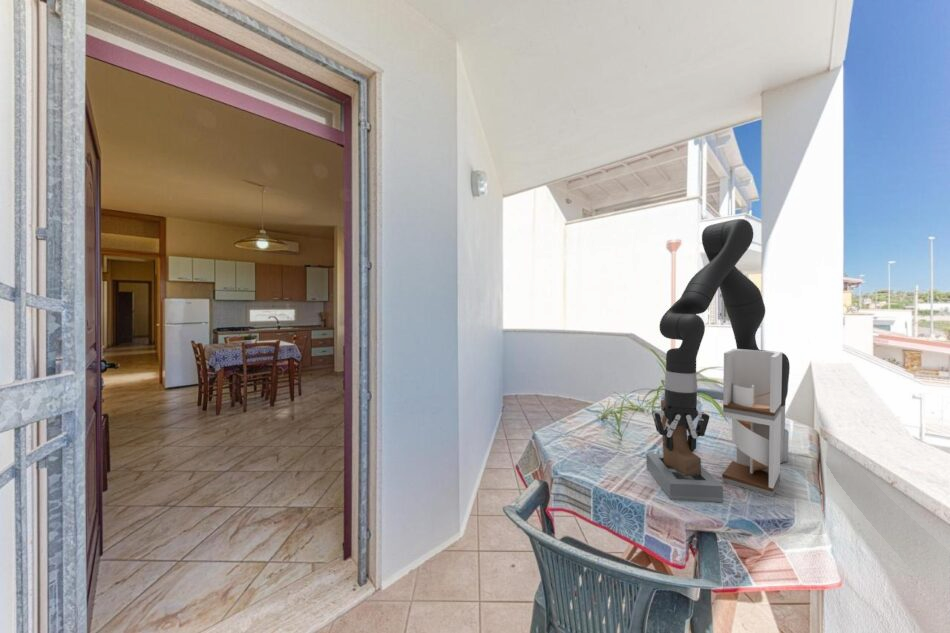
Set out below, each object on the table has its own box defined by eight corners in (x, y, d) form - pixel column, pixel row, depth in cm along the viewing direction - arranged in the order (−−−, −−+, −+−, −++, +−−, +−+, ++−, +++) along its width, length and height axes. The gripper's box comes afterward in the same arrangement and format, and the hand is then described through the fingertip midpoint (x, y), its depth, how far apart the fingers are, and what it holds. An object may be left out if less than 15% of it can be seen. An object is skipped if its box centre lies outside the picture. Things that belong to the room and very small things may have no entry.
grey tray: (689, 468, 105) (690, 455, 104) (722, 502, 87) (722, 486, 87) (646, 466, 106) (646, 453, 106) (670, 499, 89) (670, 483, 89)
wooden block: (702, 475, 92) (698, 404, 93) (686, 476, 92) (682, 405, 93) (677, 462, 101) (674, 398, 102) (663, 464, 101) (660, 399, 101)
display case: (732, 467, 105) (733, 348, 103) (779, 480, 97) (782, 352, 96) (722, 481, 97) (723, 353, 96) (772, 496, 89) (775, 357, 88)
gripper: (702, 385, 99) (701, 445, 100) (647, 384, 101) (647, 443, 102) (716, 392, 91) (715, 457, 92) (657, 390, 93) (656, 454, 94)
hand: (679, 449), depth 97 cm, fingers closed on wooden block, 5 cm apart
